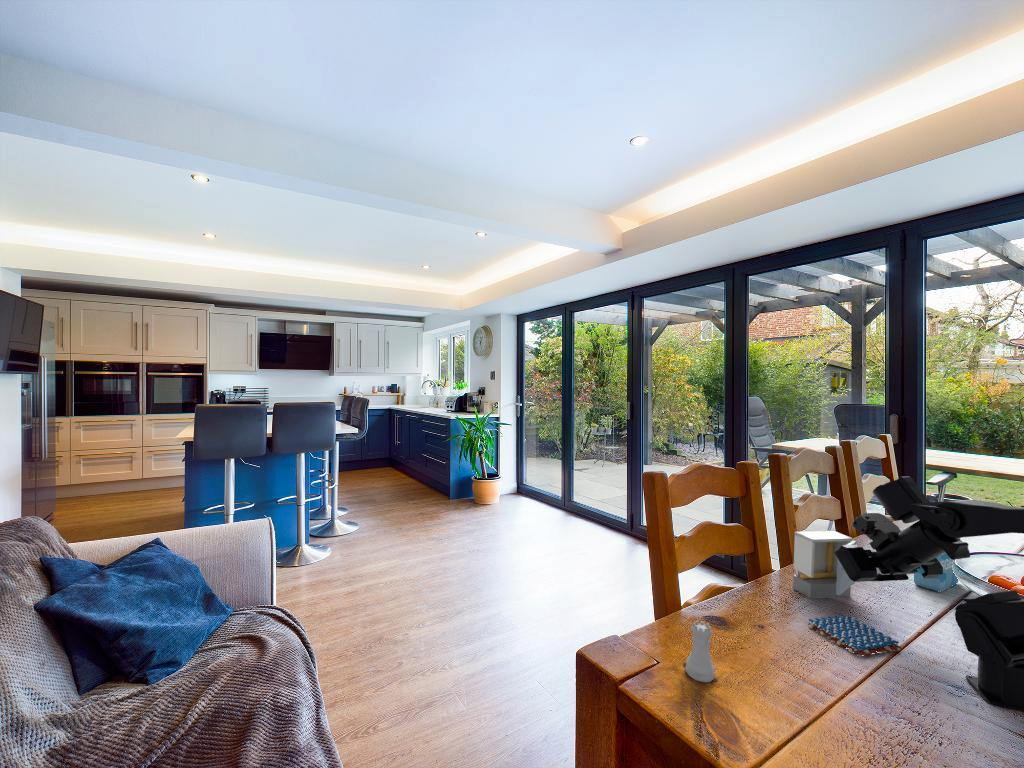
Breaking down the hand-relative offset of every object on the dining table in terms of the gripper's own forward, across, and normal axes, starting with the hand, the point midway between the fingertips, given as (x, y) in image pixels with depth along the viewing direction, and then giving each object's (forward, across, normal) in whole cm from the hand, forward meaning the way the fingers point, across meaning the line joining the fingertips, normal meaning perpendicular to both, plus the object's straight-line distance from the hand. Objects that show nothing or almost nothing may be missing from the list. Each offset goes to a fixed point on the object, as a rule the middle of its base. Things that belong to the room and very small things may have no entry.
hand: (859, 578), depth 93 cm
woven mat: (+1, +8, +11) cm, 14 cm away
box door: (+6, -2, 0) cm, 7 cm away
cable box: (+13, -1, -2) cm, 13 cm away
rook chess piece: (-4, +43, +15) cm, 46 cm away
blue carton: (+13, -33, -2) cm, 35 cm away
